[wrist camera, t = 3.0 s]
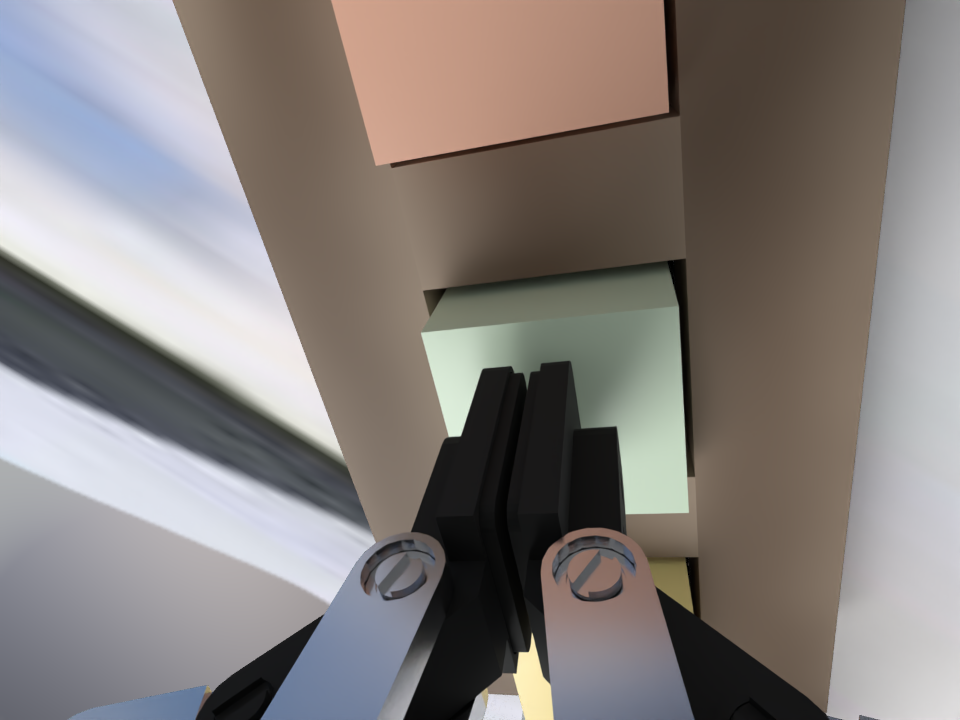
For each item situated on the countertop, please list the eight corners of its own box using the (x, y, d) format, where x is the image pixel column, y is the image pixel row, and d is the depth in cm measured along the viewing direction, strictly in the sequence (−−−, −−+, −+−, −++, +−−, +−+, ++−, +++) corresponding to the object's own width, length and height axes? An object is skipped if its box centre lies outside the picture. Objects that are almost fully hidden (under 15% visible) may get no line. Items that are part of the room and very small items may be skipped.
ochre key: (679, 523, 17) (693, 615, 14) (686, 637, 19) (699, 734, 16) (511, 526, 18) (496, 611, 15) (536, 632, 20) (526, 723, 17)
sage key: (664, 249, 13) (678, 305, 10) (674, 430, 15) (689, 512, 13) (453, 276, 14) (420, 332, 12) (491, 439, 16) (470, 517, 14)
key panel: (864, -372, 9) (964, -523, 7) (797, 622, 20) (826, 712, 17) (208, -142, 12) (102, -185, 10) (451, 614, 23) (431, 690, 20)
